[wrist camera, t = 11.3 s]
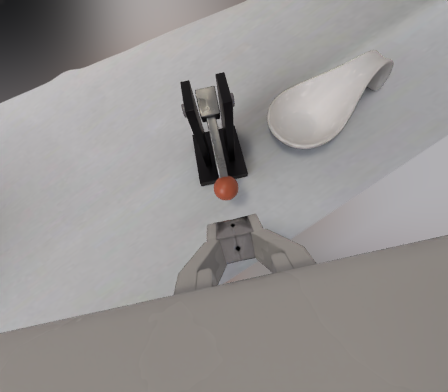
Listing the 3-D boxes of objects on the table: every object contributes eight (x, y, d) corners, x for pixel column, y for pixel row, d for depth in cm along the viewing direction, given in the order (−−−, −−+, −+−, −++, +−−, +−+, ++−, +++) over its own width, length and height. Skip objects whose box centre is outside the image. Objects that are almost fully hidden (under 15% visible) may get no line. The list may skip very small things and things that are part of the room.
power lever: (239, 194, 23) (242, 199, 20) (216, 199, 23) (216, 205, 20) (219, 95, 20) (218, 82, 17) (194, 100, 20) (189, 89, 17)
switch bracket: (247, 176, 28) (254, 119, 15) (201, 186, 28) (173, 137, 16) (234, 130, 31) (232, 52, 19) (194, 139, 31) (165, 68, 19)
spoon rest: (294, 170, 27) (313, 144, 20) (251, 126, 31) (255, 91, 24) (393, 101, 30) (439, 57, 23) (343, 67, 33) (369, 21, 27)
